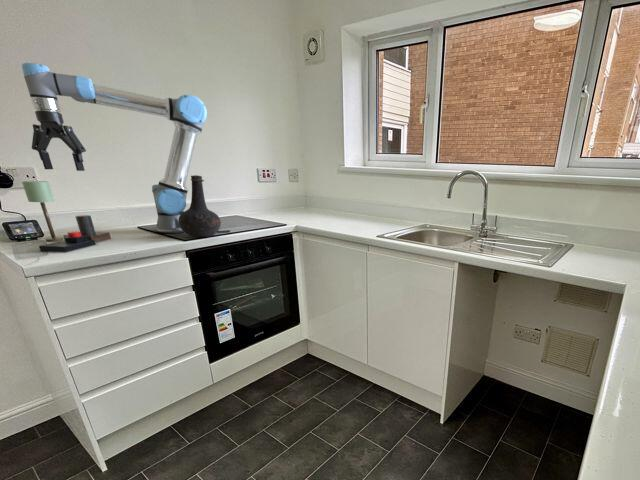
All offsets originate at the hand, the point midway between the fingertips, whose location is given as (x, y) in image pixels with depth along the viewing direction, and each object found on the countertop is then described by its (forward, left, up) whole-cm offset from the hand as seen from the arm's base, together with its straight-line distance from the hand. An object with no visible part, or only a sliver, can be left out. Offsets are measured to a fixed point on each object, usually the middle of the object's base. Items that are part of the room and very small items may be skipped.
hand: (64, 170), depth 142 cm
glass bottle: (-39, -21, -29) cm, 53 cm away
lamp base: (-2, +11, -30) cm, 32 cm away
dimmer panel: (+2, -3, -30) cm, 30 cm away
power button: (-2, +7, -26) cm, 27 cm away
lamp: (-2, +16, -26) cm, 30 cm away
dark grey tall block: (0, -2, -27) cm, 27 cm away
